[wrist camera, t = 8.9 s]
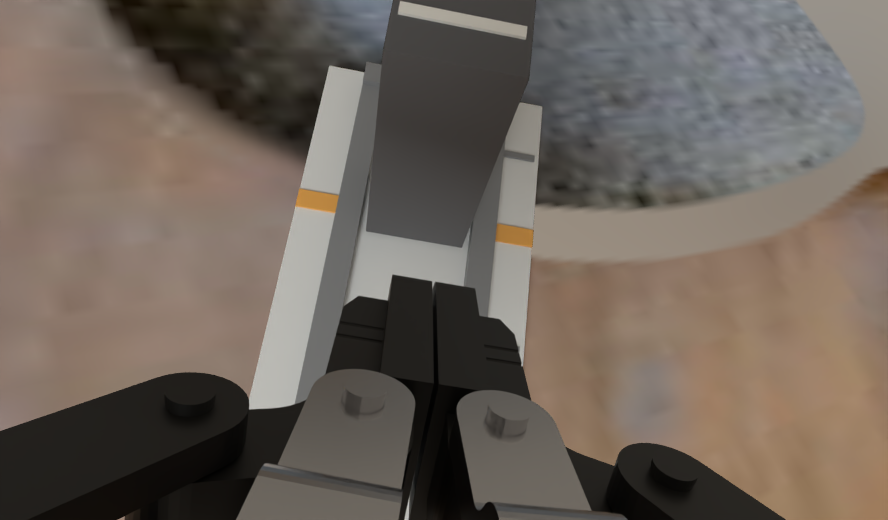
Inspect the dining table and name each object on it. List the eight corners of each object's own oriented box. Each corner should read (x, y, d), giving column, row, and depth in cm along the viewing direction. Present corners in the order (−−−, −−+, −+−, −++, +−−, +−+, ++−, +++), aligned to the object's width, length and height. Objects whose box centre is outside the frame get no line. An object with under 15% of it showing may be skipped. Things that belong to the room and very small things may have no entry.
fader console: (496, 633, 24) (509, 638, 23) (206, 596, 24) (195, 598, 22) (536, 119, 34) (548, 93, 32) (329, 79, 33) (329, 51, 31)
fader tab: (461, 247, 29) (530, 75, 19) (365, 231, 29) (383, 47, 18) (469, 186, 30) (537, -7, 20) (377, 169, 30) (399, -36, 20)
